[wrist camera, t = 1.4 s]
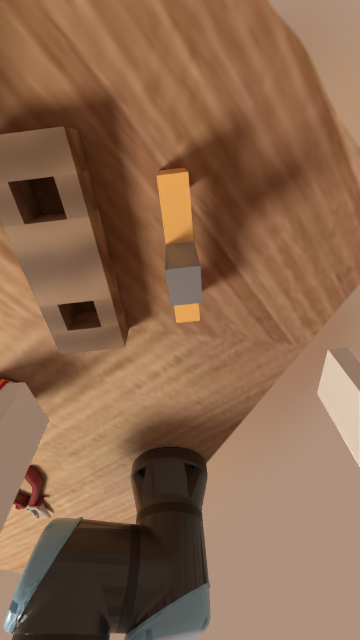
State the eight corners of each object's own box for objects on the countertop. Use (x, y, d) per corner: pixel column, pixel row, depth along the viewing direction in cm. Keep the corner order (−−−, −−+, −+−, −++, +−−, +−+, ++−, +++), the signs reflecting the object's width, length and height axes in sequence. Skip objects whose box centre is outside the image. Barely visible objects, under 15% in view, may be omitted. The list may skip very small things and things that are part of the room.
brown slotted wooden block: (128, 328, 36) (124, 347, 33) (70, 335, 36) (60, 354, 33) (78, 129, 24) (63, 126, 21) (-8, 140, 24) (-37, 139, 21)
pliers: (23, 513, 64) (18, 526, 62) (-21, 468, 53) (-29, 482, 51) (70, 508, 64) (66, 521, 62) (35, 462, 53) (29, 475, 51)
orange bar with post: (195, 294, 34) (206, 357, 24) (175, 296, 34) (178, 360, 24) (184, 167, 26) (194, 178, 16) (158, 170, 26) (153, 183, 16)
